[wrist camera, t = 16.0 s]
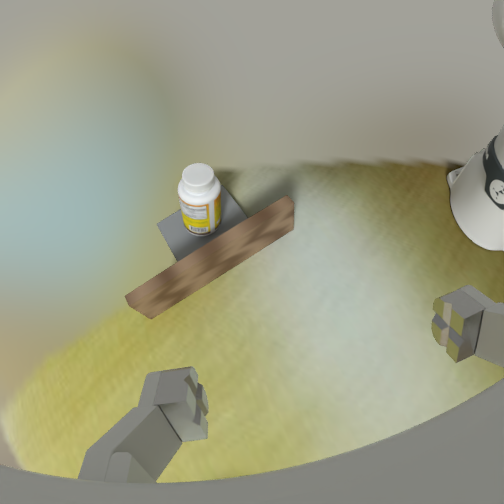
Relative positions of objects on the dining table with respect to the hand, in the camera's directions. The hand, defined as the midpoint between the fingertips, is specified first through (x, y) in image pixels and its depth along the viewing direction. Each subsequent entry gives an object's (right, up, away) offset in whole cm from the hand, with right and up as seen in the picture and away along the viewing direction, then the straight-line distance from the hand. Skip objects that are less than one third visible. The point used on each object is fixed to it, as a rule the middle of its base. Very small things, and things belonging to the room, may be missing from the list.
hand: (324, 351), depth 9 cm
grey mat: (-10, +7, +38) cm, 40 cm away
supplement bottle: (-10, +7, +37) cm, 39 cm away
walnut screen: (-7, +1, +35) cm, 35 cm away
